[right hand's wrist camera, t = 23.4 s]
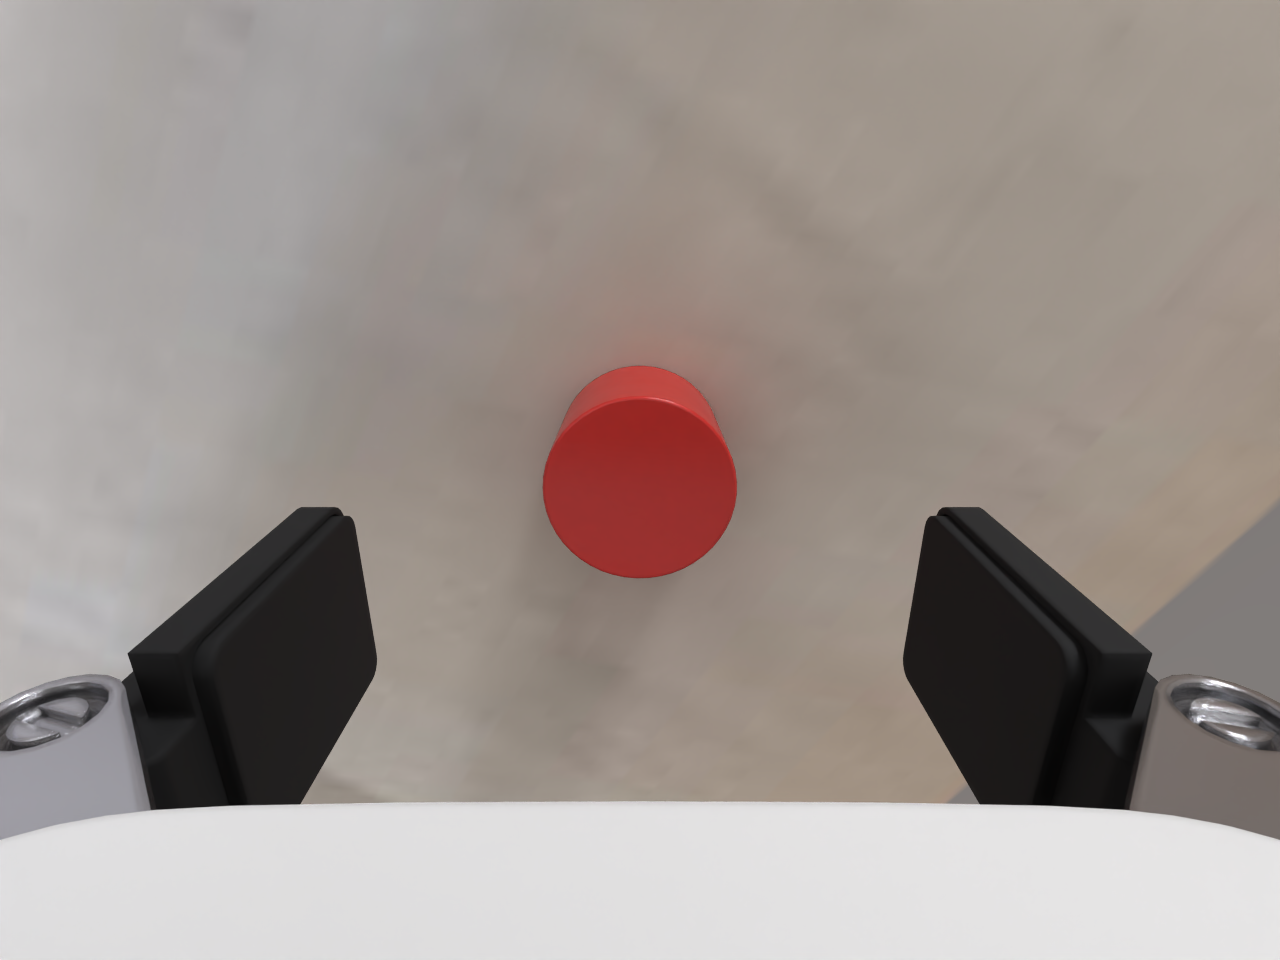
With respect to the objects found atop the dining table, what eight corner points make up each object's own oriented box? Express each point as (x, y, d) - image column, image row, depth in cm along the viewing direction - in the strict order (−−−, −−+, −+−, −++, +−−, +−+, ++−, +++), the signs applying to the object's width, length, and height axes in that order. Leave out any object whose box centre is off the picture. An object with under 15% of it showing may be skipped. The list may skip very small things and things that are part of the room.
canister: (531, 412, 21) (505, 453, 17) (674, 336, 20) (683, 360, 16) (608, 541, 22) (602, 608, 18) (744, 474, 21) (769, 529, 17)
